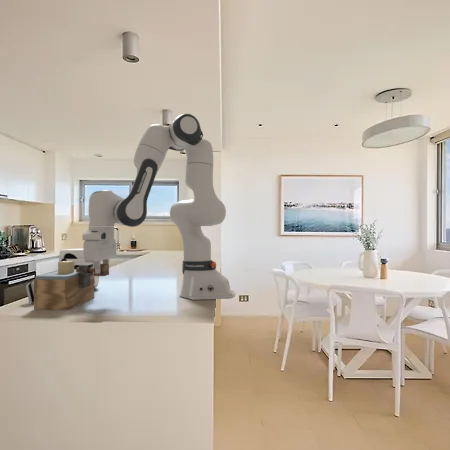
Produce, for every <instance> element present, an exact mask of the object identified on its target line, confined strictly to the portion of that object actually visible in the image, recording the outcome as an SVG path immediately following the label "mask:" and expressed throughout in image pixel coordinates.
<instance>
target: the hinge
mask: <svg viewBox="0 0 450 450" xmlns="http://www.w3.org/2000/svg"><path fill="white" fill-rule="evenodd" d="M34 280H35V279H32V280H31V281H30V282H28V283H27V284H26V285H25V289H26V294H27V298H28V303H29V304H30V305H31V304H34Z"/></svg>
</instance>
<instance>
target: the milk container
mask: <svg viewBox="0 0 450 450" xmlns="http://www.w3.org/2000/svg"><path fill="white" fill-rule="evenodd" d="M58 257H59V259H58V262H62V261H74V269H76V268H79V265H82V264H93V262H85V260H84V253H83V247H82V248H63V249H59V255H58ZM93 267H94V265H93ZM99 283H100V276H94V289H95V288H97V287H98V285H99Z"/></svg>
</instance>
